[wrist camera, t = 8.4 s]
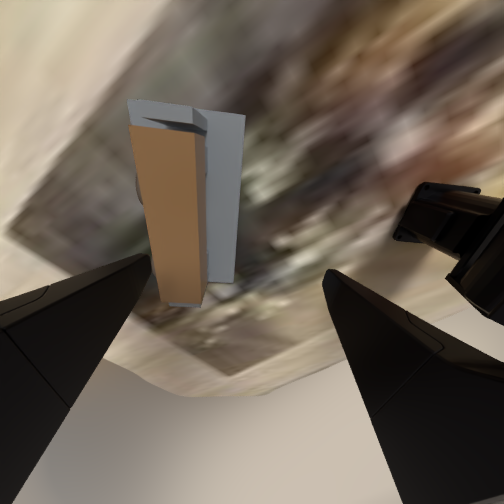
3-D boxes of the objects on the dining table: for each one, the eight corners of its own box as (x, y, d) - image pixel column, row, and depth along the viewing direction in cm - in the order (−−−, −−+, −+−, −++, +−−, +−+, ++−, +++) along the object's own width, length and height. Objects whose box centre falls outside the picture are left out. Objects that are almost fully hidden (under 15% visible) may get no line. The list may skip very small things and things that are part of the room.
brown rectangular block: (149, 129, 12) (123, 123, 10) (204, 136, 13) (194, 132, 10) (170, 280, 19) (158, 301, 16) (207, 282, 19) (201, 303, 16)
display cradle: (245, 117, 15) (245, 100, 10) (233, 277, 24) (230, 313, 18) (135, 102, 15) (74, 76, 10) (162, 272, 23) (138, 308, 18)
